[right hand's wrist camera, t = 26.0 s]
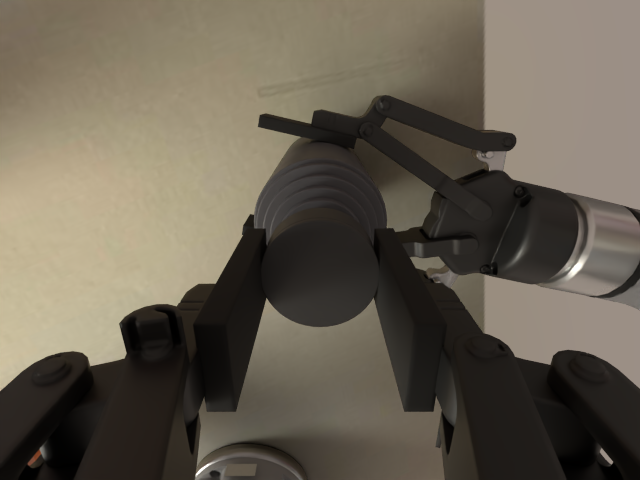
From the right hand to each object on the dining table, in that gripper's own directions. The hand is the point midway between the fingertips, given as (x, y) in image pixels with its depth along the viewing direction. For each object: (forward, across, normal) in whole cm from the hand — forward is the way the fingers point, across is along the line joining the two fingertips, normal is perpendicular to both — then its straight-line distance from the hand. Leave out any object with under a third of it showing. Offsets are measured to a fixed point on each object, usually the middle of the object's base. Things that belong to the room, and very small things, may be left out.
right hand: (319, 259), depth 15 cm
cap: (-1, 0, 0) cm, 1 cm away
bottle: (+19, 0, 0) cm, 19 cm away
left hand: (+12, -5, +1) cm, 13 cm away
